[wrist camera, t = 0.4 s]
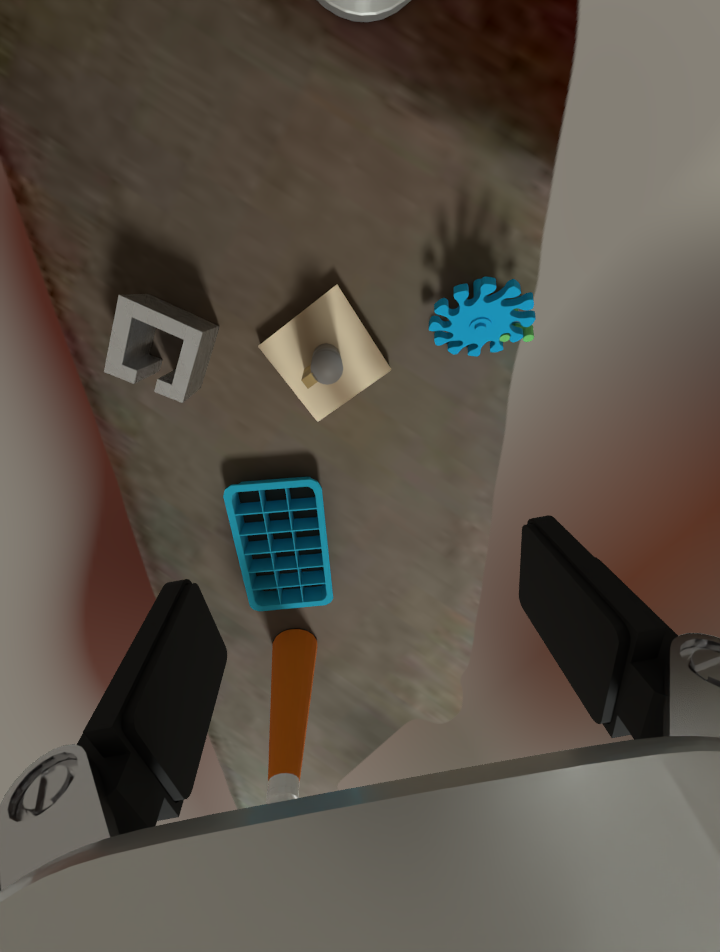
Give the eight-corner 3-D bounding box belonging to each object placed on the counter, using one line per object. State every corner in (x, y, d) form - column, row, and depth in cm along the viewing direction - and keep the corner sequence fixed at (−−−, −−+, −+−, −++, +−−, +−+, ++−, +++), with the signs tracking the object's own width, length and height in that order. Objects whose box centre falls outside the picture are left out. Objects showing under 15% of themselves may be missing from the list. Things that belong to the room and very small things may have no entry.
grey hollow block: (148, 293, 37) (118, 294, 32) (219, 326, 39) (202, 332, 33) (133, 360, 40) (103, 371, 34) (200, 387, 41) (182, 402, 36)
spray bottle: (267, 671, 63) (233, 901, 39) (275, 625, 58) (242, 853, 35) (310, 674, 64) (301, 899, 41) (321, 629, 59) (318, 852, 36)
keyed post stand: (336, 284, 38) (339, 283, 32) (389, 367, 42) (400, 381, 36) (260, 344, 40) (248, 354, 34) (317, 417, 44) (316, 439, 38)
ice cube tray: (254, 596, 56) (251, 612, 53) (226, 475, 47) (220, 486, 44) (333, 589, 56) (333, 604, 54) (320, 467, 47) (320, 478, 45)
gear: (410, 344, 40) (470, 273, 31) (411, 300, 42) (468, 220, 33) (495, 372, 43) (570, 316, 34) (493, 330, 45) (563, 266, 36)
